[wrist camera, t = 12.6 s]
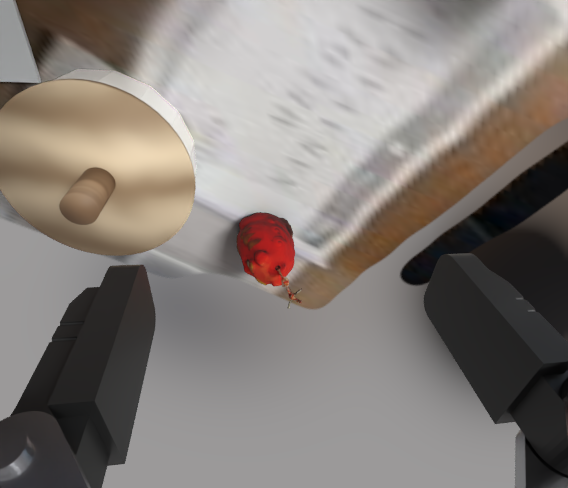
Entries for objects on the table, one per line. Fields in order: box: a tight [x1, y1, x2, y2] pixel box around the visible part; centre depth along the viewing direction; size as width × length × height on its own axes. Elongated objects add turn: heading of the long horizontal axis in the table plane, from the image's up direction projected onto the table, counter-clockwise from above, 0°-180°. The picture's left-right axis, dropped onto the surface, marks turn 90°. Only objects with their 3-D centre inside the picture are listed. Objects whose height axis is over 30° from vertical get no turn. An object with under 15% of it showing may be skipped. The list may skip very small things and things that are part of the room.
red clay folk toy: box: [237, 212, 302, 308], centre depth 38 cm, size 8×7×15 cm
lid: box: [0, 79, 195, 256], centre depth 30 cm, size 17×17×6 cm
